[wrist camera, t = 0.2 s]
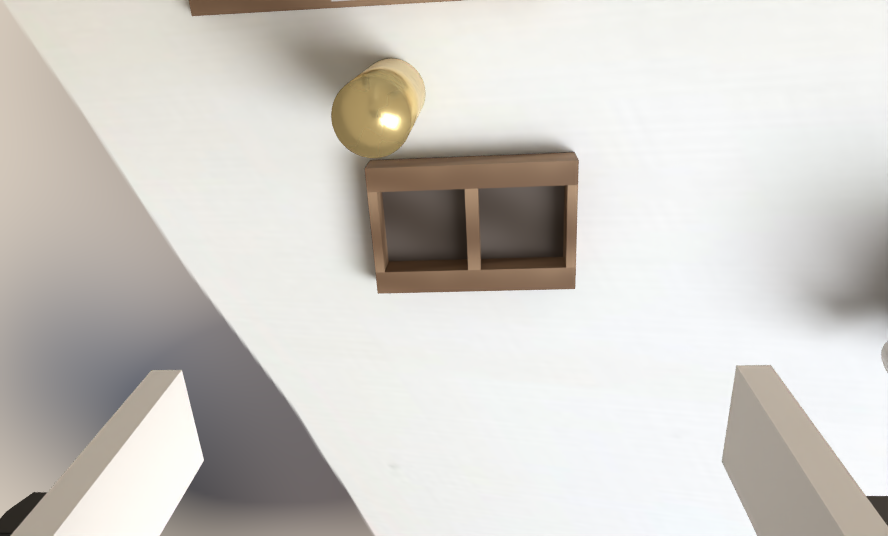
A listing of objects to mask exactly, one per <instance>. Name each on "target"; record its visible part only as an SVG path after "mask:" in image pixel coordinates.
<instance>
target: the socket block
mask: <svg viewBox="0 0 888 536" xmlns="http://www.w3.org/2000/svg"><path fill="white" fill-rule="evenodd" d="M578 164H579V160H578V158H577V156H576V154H575V152H568V153H543V154H517V155H492V156H467V157H441V158H416V159H390V160H370V161H369V163H368V164H367V166H366V167H365V177H366V187H367V196H368V206H369V215H370V224H371V234H372V243H373V253H374V262H375V271H376V281H377V290H378V293H418V292H461V291H504V290H547V289H575V276H576V239H577V201H578Z"/></svg>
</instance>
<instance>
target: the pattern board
mask: <svg viewBox="0 0 888 536" xmlns="http://www.w3.org/2000/svg"><path fill="white" fill-rule="evenodd" d="M443 1H461V0H348V1H331V0H189V4H190V9H191V14H192V16H201V15H219V14H236V13H253V12H271V11H288V10H305V9H322V8H340V7H357V6H374V5H391V4H409V3H426V2H443Z"/></svg>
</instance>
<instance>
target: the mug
mask: <svg viewBox="0 0 888 536" xmlns="http://www.w3.org/2000/svg"><path fill="white" fill-rule="evenodd" d="M881 356H882V362H883V364H884V367H885V369H886V371H887V372H888V341H887V342H886V343H885V344H884V346H883V348H882V350H881Z"/></svg>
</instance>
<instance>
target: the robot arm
mask: <svg viewBox="0 0 888 536" xmlns="http://www.w3.org/2000/svg"><path fill="white" fill-rule="evenodd" d="M203 461H204V459H203V455H202V451H201V447H200V443H199V439H198V435H197V430H196V426H195V422H194V418H193V414H192V410H191V407H190V402H189V398H188V394H187V389H186V385H185V381H184V377H183V373H182V370H151V371H150V373H149V374H148V375H147V376H146V377H145V379H144V380H143V381H142V382H141V384H139V386H138V387H137V388H136V389H135V390H134V392H133V393H132V394H131V395H130V396H129V397H128V399H127V400H126V401H125V402H124V404H122V406H121V407H120V408H119V409H118V410H117V411H116V413H115V414H114V415H113V416H112V417H111V418H110V420H109V421H108V422H107V423H106V424H105V426H104V427H103V428H102V429H101V430H100V431H99V433H98V434H97V435H96V436H95V437H94V438H93V440H92V441H91V442H90V443H89V444H88V445H87V447H86V448H85V449H84V450H83V451H82V452H81V454H80V455H79V456H78V457H77V458H76V459H75V461H74V462H73V463H72V464H71V465H70V466H69V468H68V469H67V470H66V471H65V472H64V474H63V475H62V476H61V477H60V478H59V479H58V481H57V482H56V483H55V484H54V485H53V487H52V488H51V489H50V490H49V491H48V492H47V493H41V492H38V493H36V492H34V493H32V494H30V495H29V496H28V497H26V498H25V499H23V500H22V501H21V502H19V503H18V504H16V505H15V506H13V507H12V508H11V509H9V510H8V511H7V512H6V513H5V514H4V515H3V516H2V517H1V518H0V536H160V534H161V532H162V531H163V529H164V527H165V525H166V523H167V522H168V520H169V518H170V517H171V515H172V514H173V512H174V510H175V508H176V506H177V505H178V503H179V502H180V500H181V498H182V496H183V495H184V493H185V491H186V490H187V488H188V486H189V485H190V483H191V481H192V479H193V478H194V476H195V474H196V473H197V471H198V469H199V468H200V466H201V464H202V462H203ZM722 463H723V465H724V467H725V469H726V471H727V473H728V476H729V478H730V480H731V482H732V484H733V486H734V488H735V490H736V492H737V494H738V496H739V498H740V500H741V503H742V505H743V507H744V509H745V511H746V513H747V515H748V517H749V519H750V521H751V523H752V525H753V527H754V530H755V532H756V534H757V536H888V496H865V494H864V493H863V491H862V490H861V489H860V487H859V486H858V485H857V483H856V482H855V480H854V479H853V478H852V476H851V475H850V473H849V472H848V471H847V469H846V468H845V467H844V465H843V464H842V462H841V461H840V460H839V458H838V457H837V456H836V454H835V453H834V451H833V450H832V449H831V447H830V446H829V445H828V443H827V442H826V440H825V439H824V438H823V436H822V435H821V434H820V432H819V431H818V429H817V428H816V427H815V425H814V424H813V423H812V421H811V420H810V418H809V417H808V416H807V414H806V413H805V411H804V410H803V409H802V407H801V406H800V405H799V403H798V402H797V400H796V399H795V398H794V396H793V395H792V394H791V392H790V391H789V389H788V388H787V387H786V385H785V384H784V383H783V381H782V380H781V378H780V377H779V376H778V374H777V373H776V372H775V370H774V369H773V367H772V366H771V365H745V366H736V371H735V378H734V384H733V391H732V397H731V404H730V411H729V417H728V424H727V430H726V437H725V444H724V450H723V457H722Z"/></svg>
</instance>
